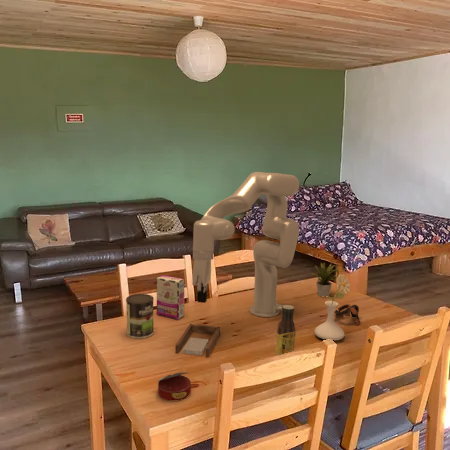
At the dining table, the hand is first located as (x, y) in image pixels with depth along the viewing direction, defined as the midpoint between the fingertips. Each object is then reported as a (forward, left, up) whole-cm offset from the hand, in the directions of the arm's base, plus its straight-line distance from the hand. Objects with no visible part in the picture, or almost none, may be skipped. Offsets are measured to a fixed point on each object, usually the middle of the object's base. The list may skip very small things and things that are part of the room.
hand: (201, 301), depth 179 cm
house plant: (-45, -57, -15) cm, 74 cm away
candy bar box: (+18, -17, -15) cm, 29 cm away
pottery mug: (-56, -30, -15) cm, 65 cm away
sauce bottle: (-32, +11, -15) cm, 37 cm away
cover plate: (0, +9, -15) cm, 17 cm away
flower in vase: (-48, -13, -15) cm, 52 cm away
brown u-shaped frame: (0, +5, -14) cm, 15 cm away
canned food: (-1, +38, -15) cm, 41 cm away
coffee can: (+24, +2, -15) cm, 28 cm away
